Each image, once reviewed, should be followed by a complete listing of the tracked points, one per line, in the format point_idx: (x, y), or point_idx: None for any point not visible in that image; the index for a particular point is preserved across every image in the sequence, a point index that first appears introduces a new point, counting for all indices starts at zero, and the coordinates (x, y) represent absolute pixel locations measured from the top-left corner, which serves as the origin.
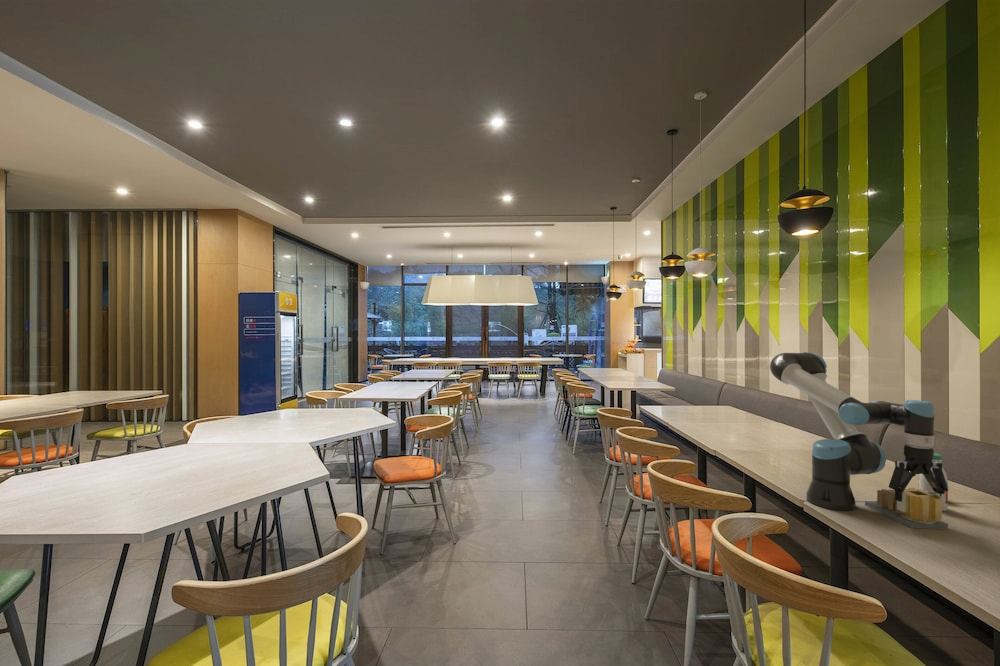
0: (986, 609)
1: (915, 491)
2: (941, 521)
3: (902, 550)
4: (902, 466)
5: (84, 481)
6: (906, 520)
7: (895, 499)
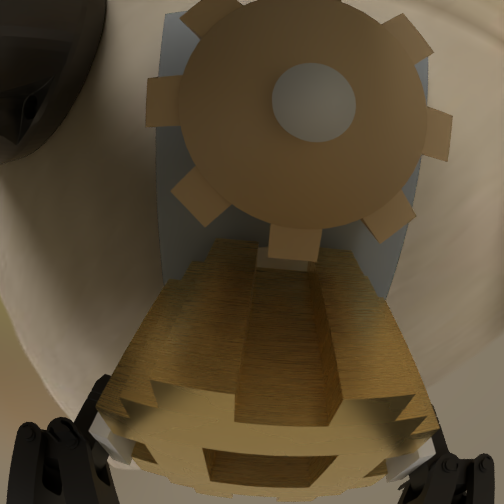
0: (115, 467)
1: (298, 453)
2: None
3: (79, 406)
4: None
5: None
6: None
7: (102, 376)
